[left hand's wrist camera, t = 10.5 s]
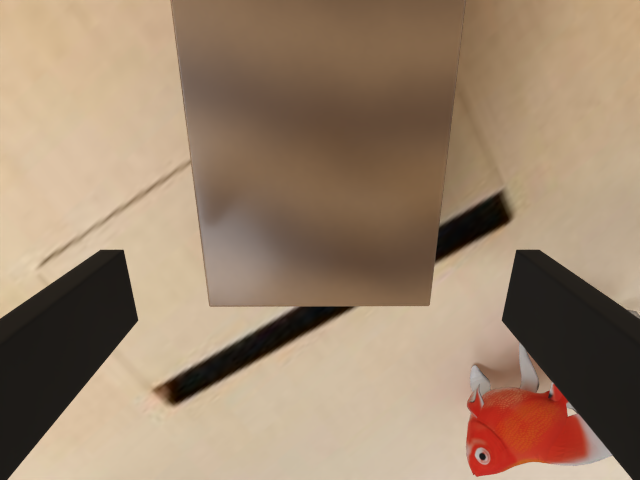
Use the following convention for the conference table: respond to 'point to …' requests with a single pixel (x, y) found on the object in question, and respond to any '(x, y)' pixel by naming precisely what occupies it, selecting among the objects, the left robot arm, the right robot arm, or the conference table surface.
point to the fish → (525, 425)
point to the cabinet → (318, 145)
